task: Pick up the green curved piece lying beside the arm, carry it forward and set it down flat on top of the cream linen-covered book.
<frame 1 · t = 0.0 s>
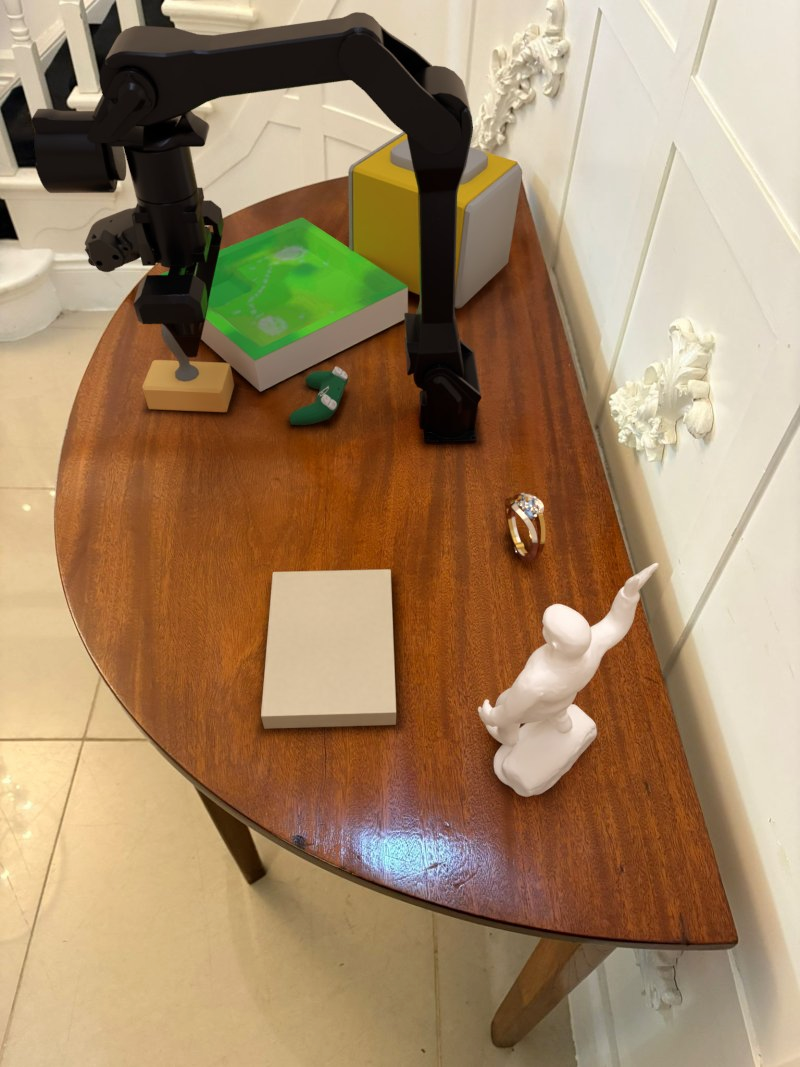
hand: (197, 330, 84), 15 cm above the table, tool pointing down, fingers open, 9 cm apart
figurine: (530, 752, 69), on the table
teapot: (438, 193, 135), on the table
ring: (518, 551, 84), on the table
polyhedron: (364, 220, 129), on the table
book: (331, 651, 76), on the table
tray: (285, 313, 111), on the table, touching alarm clock
alarm clock: (428, 277, 118), on the table, touching tray
green curved piece: (321, 408, 99), on the table
rubber stamp: (192, 398, 100), on the table
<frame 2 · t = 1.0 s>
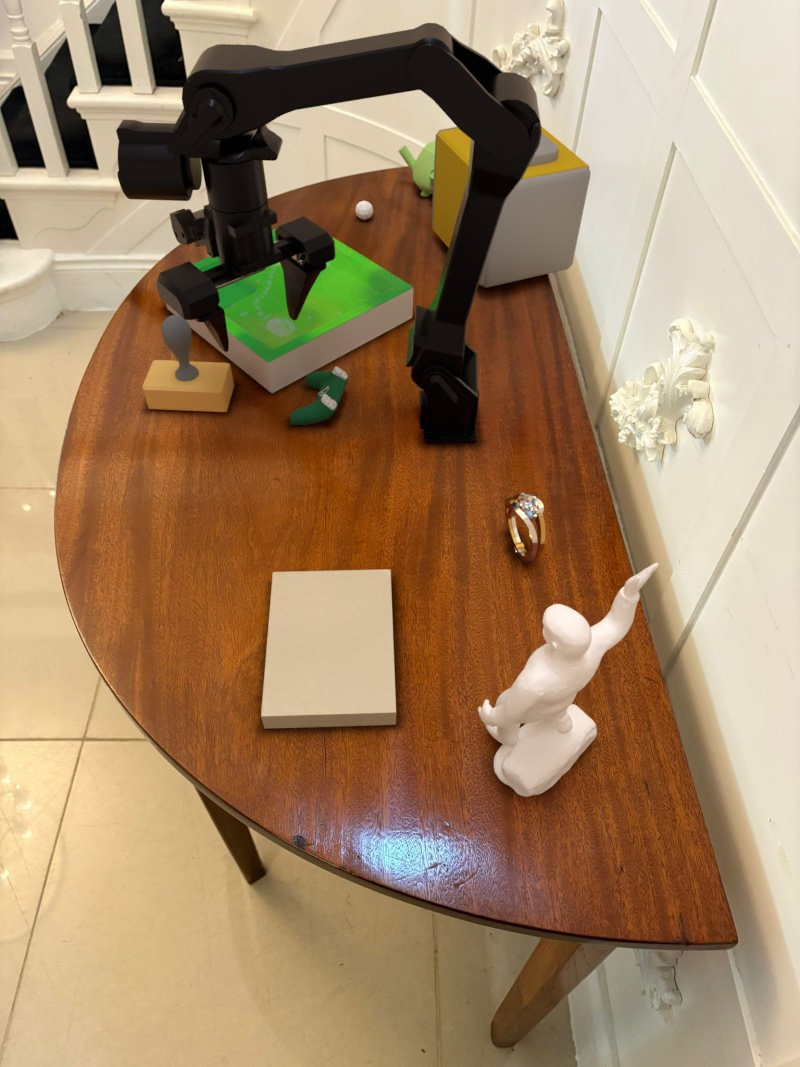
hand: (259, 333, 87), 13 cm above the table, tool pointing down, fingers open, 9 cm apart
tray: (289, 314, 112), on the table
alarm clock: (499, 259, 122), on the table
everything else where it was.
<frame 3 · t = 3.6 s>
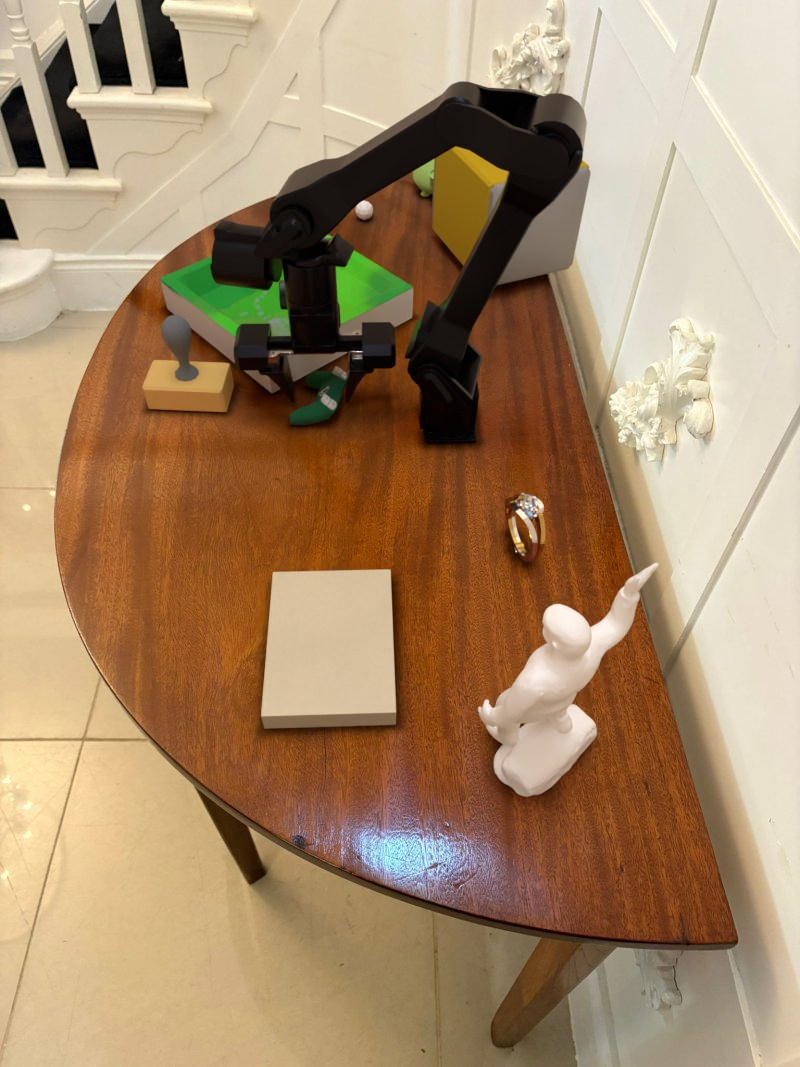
hand: (320, 400, 98), 1 cm above the table, tool pointing down, fingers closed on green curved piece, 6 cm apart
green curved piece: (321, 408, 99), on the table, touching gripper
everything else where it was.
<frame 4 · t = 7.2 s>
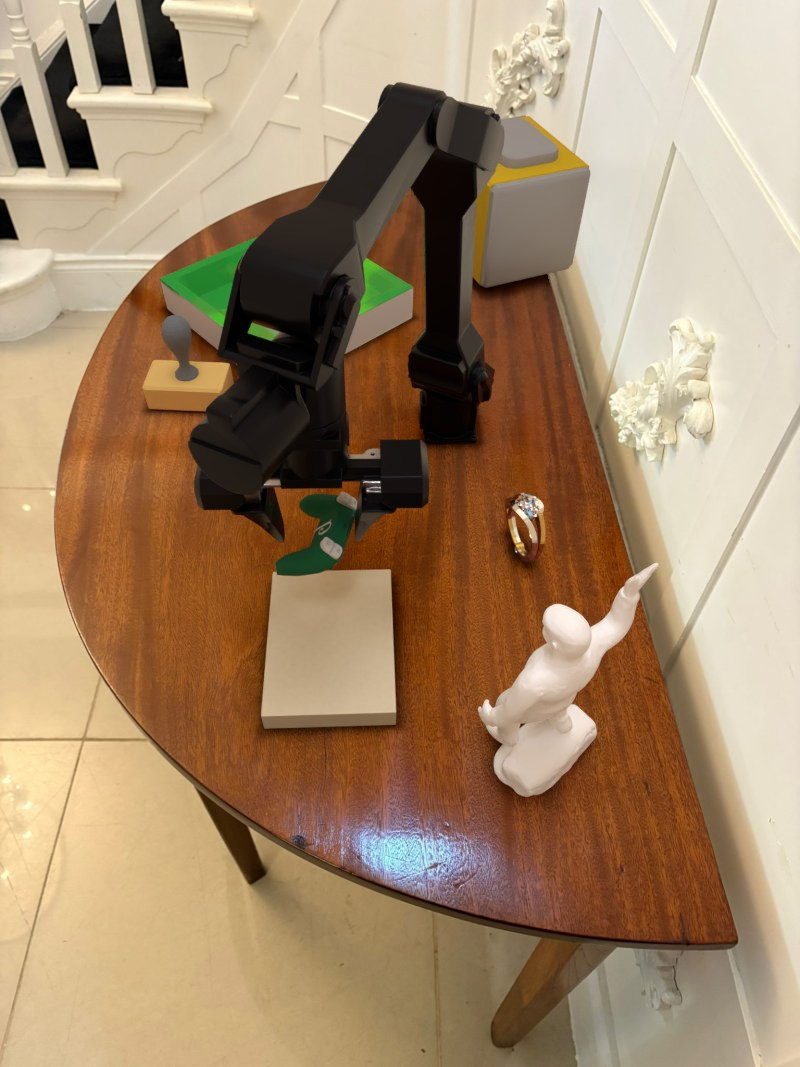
hand: (320, 538, 70), 11 cm above the table, tool pointing down, fingers closed on green curved piece, 6 cm apart
green curved piece: (320, 546, 71), point 10 cm above the table, touching gripper
everything else where it was.
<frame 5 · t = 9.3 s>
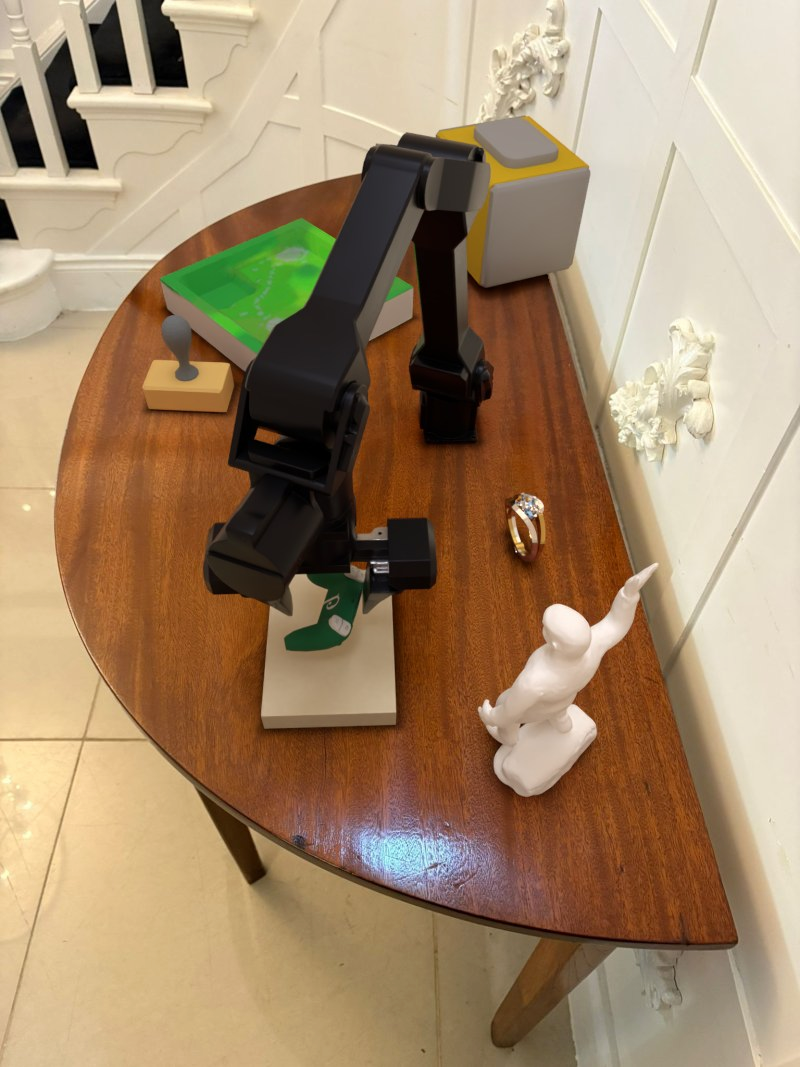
hand: (328, 610, 71), 7 cm above the table, tool pointing down, fingers closed on green curved piece, 6 cm apart
green curved piece: (328, 617, 71), point 6 cm above the table, touching gripper
everything else where it was.
when the fingers open (4 cm above the table, at t = 11.0 s): green curved piece stays where it is, resting on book.
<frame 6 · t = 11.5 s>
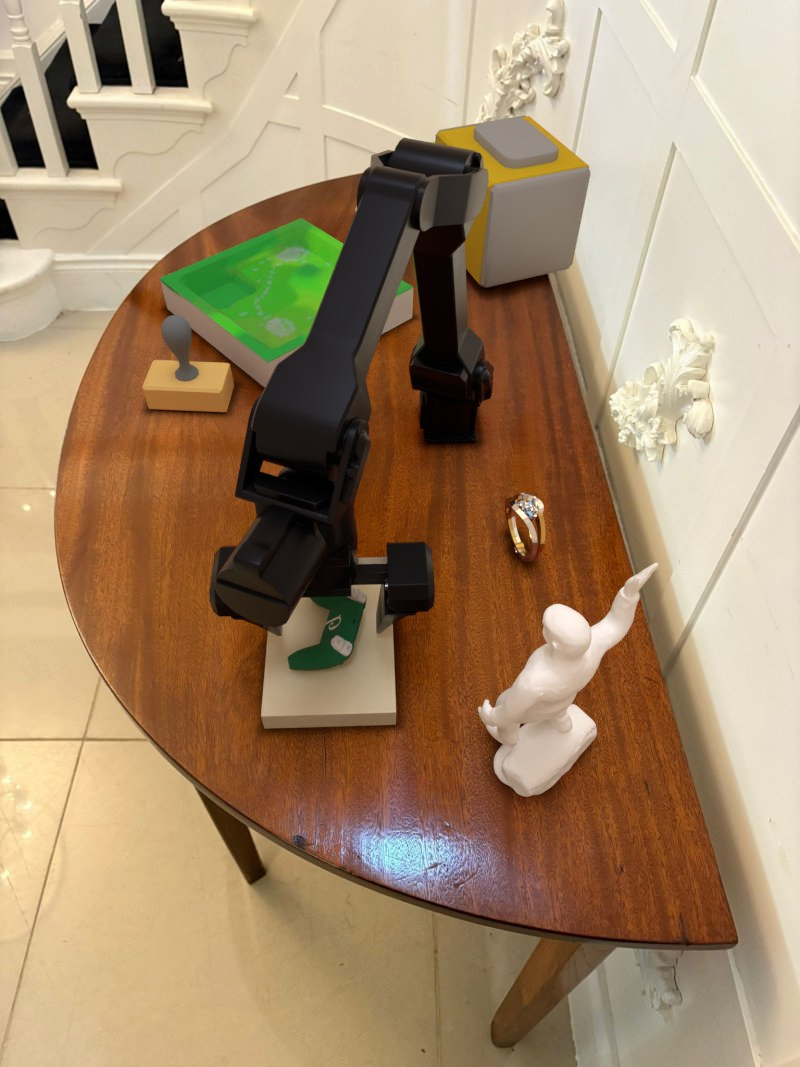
hand: (329, 630, 73), 4 cm above the table, tool pointing down, fingers open, 9 cm apart
green curved piece: (330, 637, 74), point 2 cm above the table, touching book
everything else where it was.
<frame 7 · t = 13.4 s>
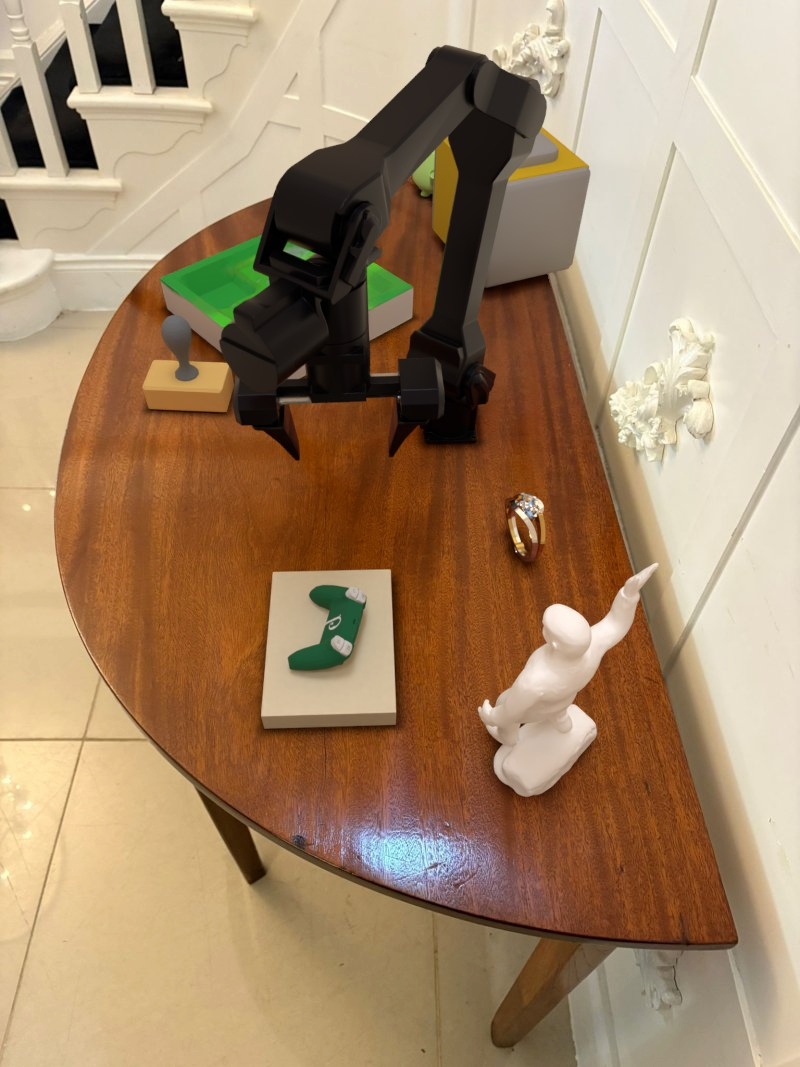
hand: (344, 455, 77), 11 cm above the table, tool pointing down, fingers open, 9 cm apart
nothing on the table moved.
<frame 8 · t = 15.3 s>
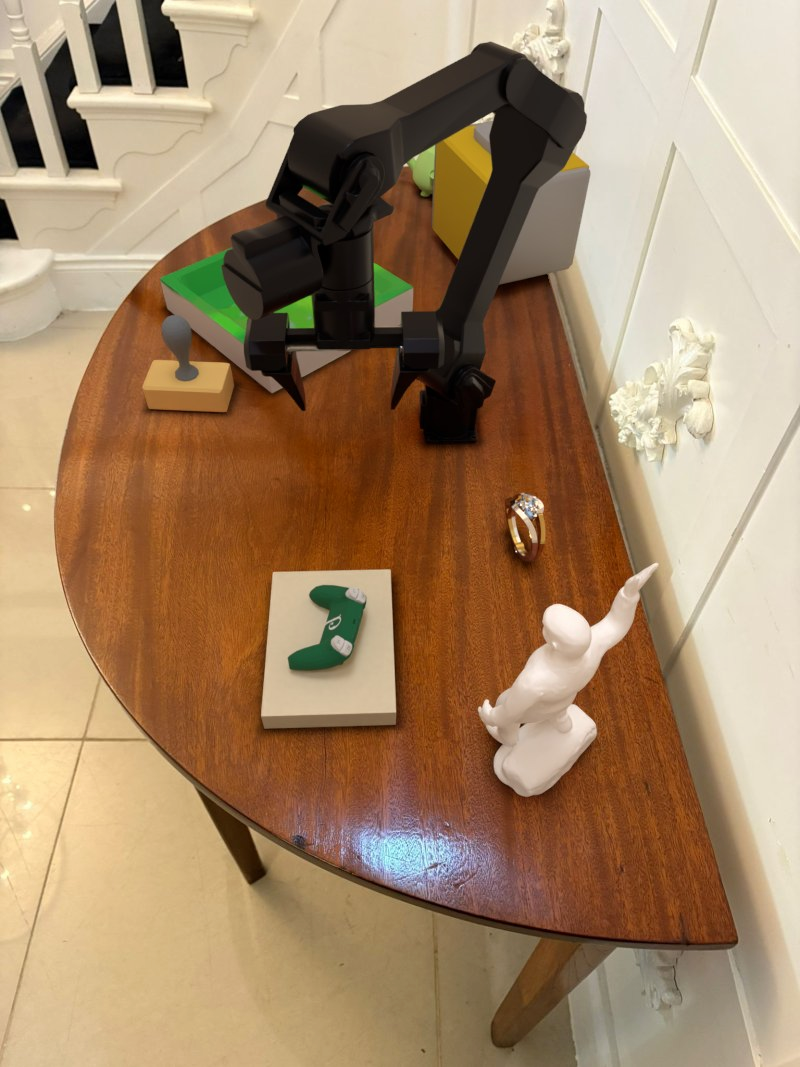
hand: (348, 407, 81), 12 cm above the table, tool pointing down, fingers open, 9 cm apart
nothing on the table moved.
at the end: green curved piece inside the target area on the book (0.1 cm from its centre), point 2.3 cm above the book's base; the gripper is holding nothing; green curved piece tilted 0° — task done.
